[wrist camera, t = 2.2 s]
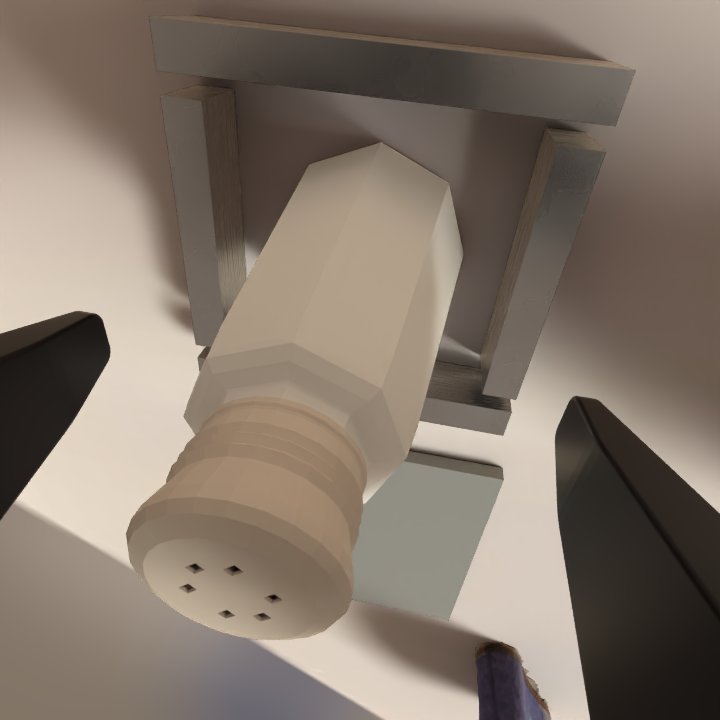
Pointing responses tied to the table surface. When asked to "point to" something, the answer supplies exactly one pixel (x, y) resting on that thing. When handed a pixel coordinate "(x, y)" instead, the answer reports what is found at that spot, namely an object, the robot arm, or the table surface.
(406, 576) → the mat
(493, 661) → the flask
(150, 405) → the table surface
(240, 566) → the pepper shaker
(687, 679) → the robot arm
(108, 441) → the table surface
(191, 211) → the holder
